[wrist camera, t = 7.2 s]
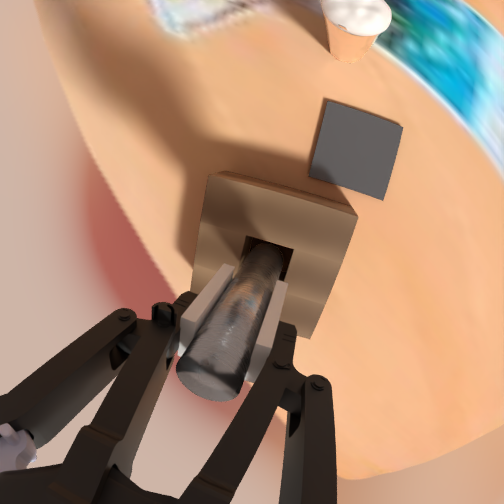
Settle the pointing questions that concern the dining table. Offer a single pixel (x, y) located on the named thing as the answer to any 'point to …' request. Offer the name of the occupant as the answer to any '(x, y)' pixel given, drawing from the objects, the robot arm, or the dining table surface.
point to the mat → (356, 150)
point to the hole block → (275, 239)
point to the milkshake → (354, 26)
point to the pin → (232, 329)
